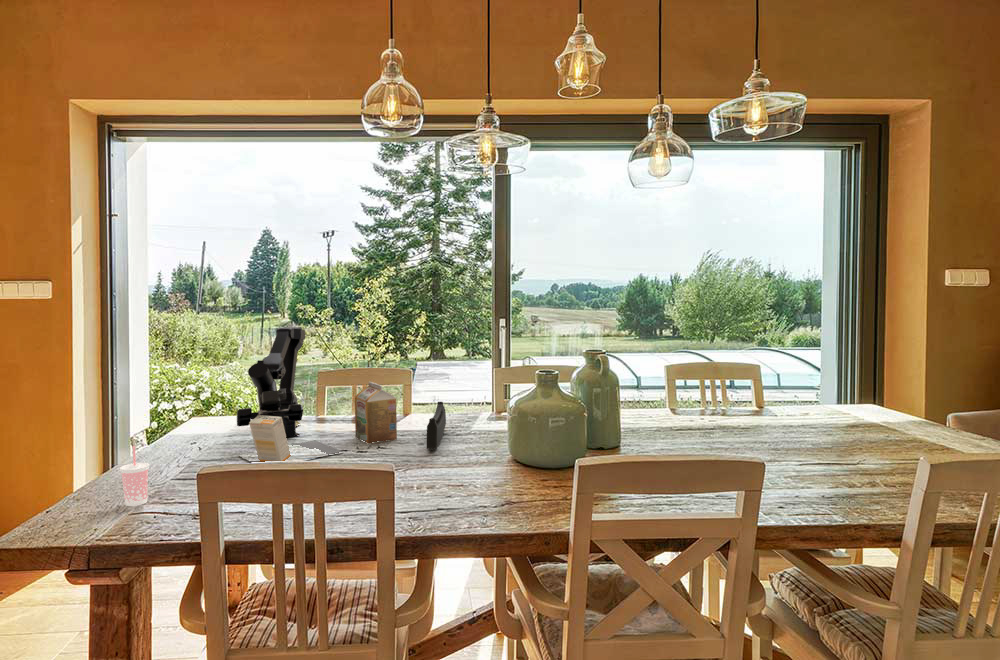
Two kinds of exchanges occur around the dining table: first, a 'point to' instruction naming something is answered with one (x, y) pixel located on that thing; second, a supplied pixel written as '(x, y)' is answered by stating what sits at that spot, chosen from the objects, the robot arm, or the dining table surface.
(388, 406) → the milk carton
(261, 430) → the supplement box
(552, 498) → the dining table surface
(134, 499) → the beverage cup
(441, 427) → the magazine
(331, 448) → the rubber mat
